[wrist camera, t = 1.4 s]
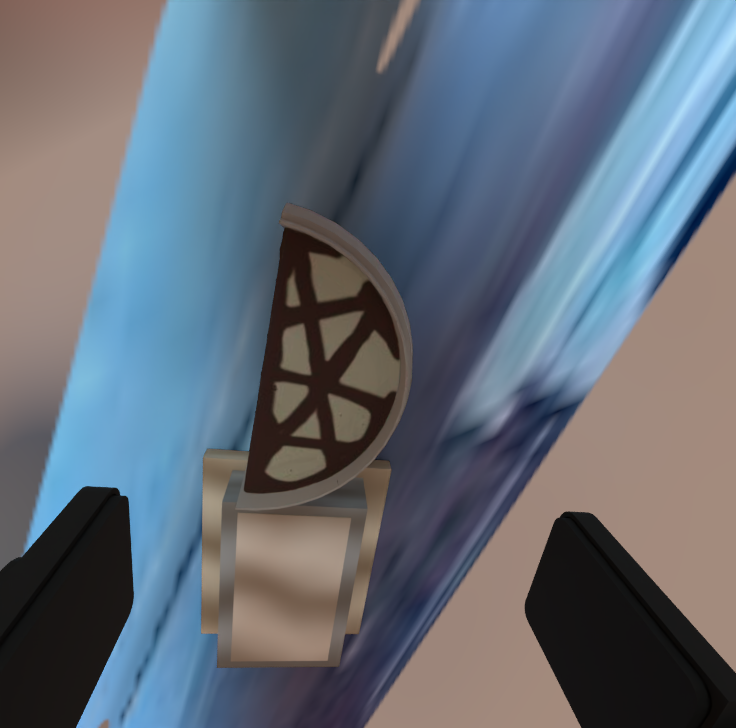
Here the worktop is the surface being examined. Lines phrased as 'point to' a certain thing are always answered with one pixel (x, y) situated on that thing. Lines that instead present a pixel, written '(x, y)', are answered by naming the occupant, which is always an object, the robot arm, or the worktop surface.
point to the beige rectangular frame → (286, 567)
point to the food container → (325, 367)
